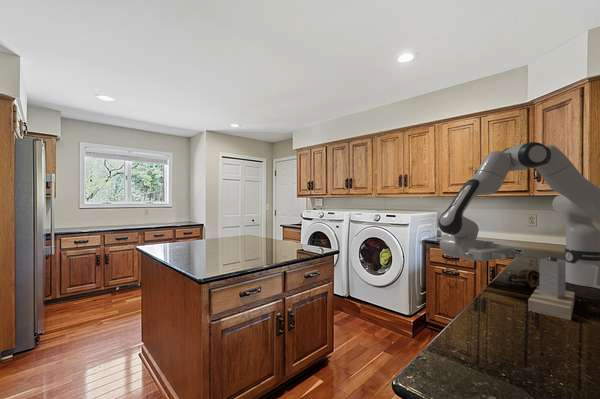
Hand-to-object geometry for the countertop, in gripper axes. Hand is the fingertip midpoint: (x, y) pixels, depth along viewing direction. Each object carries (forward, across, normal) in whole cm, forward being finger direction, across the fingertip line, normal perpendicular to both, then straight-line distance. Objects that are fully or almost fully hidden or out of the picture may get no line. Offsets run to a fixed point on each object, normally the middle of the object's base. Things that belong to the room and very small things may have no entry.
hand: (513, 256), depth 108 cm
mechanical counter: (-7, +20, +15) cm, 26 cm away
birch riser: (+12, -1, +15) cm, 19 cm away
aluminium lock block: (+12, 0, +11) cm, 16 cm away
